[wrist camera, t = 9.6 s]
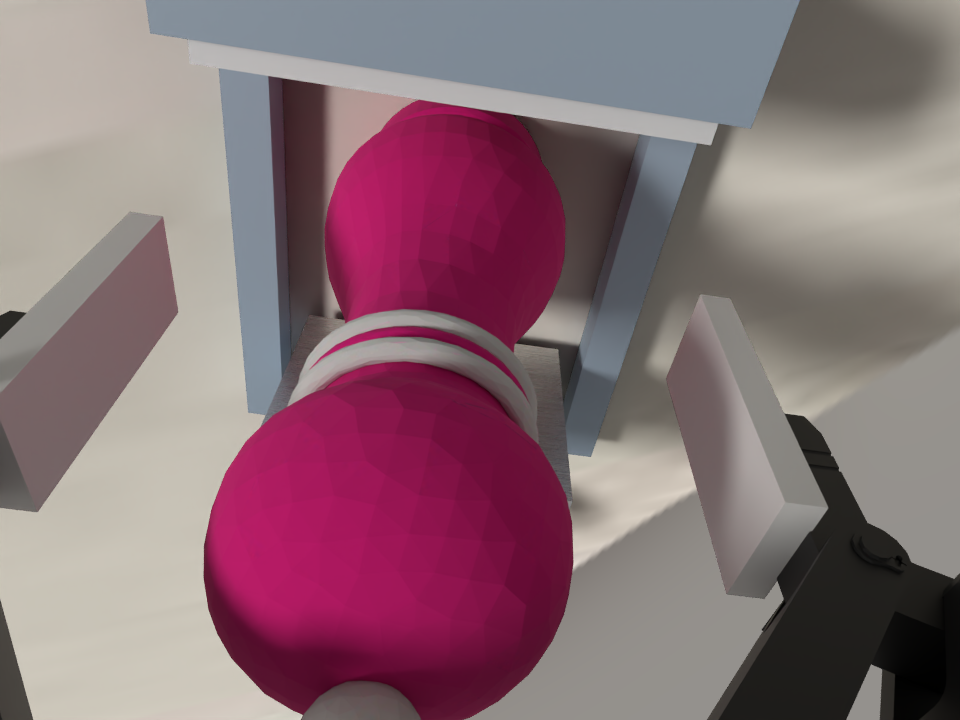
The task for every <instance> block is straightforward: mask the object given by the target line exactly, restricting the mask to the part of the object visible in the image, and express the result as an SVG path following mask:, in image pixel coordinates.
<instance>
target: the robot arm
mask: <svg viewBox="0 0 960 720" xmlns="http://www.w3.org/2000/svg"><path fill="white" fill-rule="evenodd" d="M177 313H178V307H177V301H176V295H175V289H174V282H173V276H172V270H171V264H170V258H169V251H168V245H167V239H166V233H165V226H164V220H163V217H162V216H155V215H148V214H142V213H135V212H129V213H128V214H127V215H126V216H125V217H124V218H123V219H122V220H121V221H120V222H119V223H118V224H117V225H116V226H115V227H114V228H113V229H112V230H111V231H110V232H109V233H108V234H107V235H106V236H105V237H104V238H103V239H102V240H101V241H100V242H99V243H98V244H97V245H96V246H95V247H94V248H93V249H92V250H91V251H90V252H89V253H88V254H87V255H86V256H84V257H83V258H82V259H81V260H80V261H79V262H78V263H77V264H76V265H75V266H74V267H73V268H72V269H71V270H70V271H69V272H68V273H67V274H66V275H65V276H64V277H63V278H62V279H61V280H60V281H59V282H58V283H57V284H56V285H55V286H54V287H53V288H52V289H51V290H50V291H49V292H48V293H47V294H46V295H45V296H44V297H43V298H42V299H41V300H40V301H39V302H38V303H37V304H36V305H34V306H33V307H32V308H31V309H30V310H29V311H28V312H27V313H24V312H16V311H9V312H7V313H5V314H3V315H1V316H0V508H6V509H15V510H23V511H32V512H38V511H39V509H40V508H41V507H42V505H43V504H44V502H45V501H46V499H47V498H48V497H49V495H50V494H51V492H52V491H53V489H54V488H55V487H56V485H57V484H58V482H59V481H60V480H61V478H62V477H63V475H64V474H65V472H66V471H67V470H68V468H69V467H70V465H71V464H72V462H73V461H74V460H75V458H76V457H77V455H78V454H79V453H80V451H81V450H82V448H83V447H84V445H85V444H86V443H87V441H88V440H89V438H90V437H91V435H92V434H93V433H94V431H95V430H96V428H97V427H98V426H99V424H100V423H101V421H102V420H103V418H104V417H105V416H106V414H107V413H108V411H109V410H110V408H111V407H112V406H113V404H114V403H115V401H116V400H117V399H118V397H119V396H120V394H121V393H122V391H123V390H124V389H125V387H126V386H127V384H128V383H129V382H130V380H131V379H132V377H133V376H134V374H135V373H136V372H137V370H138V369H139V367H140V366H141V364H142V363H143V362H144V360H145V359H146V357H147V356H148V355H149V353H150V352H151V350H152V349H153V347H154V346H155V345H156V343H157V342H158V340H159V339H160V337H161V336H162V335H163V333H164V332H165V330H166V329H167V328H168V326H169V325H170V323H171V322H172V320H173V319H174V318H175V316H176V315H177ZM666 380H667V384H668V388H669V391H670V395H671V398H672V402H673V405H674V409H675V412H676V416H677V420H678V423H679V427H680V430H681V434H682V437H683V441H684V444H685V448H686V452H687V455H688V459H689V462H690V466H691V469H692V473H693V476H694V480H695V484H696V487H697V491H698V494H699V498H700V501H701V505H702V508H703V512H704V516H705V519H706V523H707V526H708V530H709V533H710V537H711V540H712V544H713V547H714V551H715V555H716V558H717V562H718V565H719V569H720V572H721V576H722V580H723V583H724V586H725V590H726V594H728V595H738V596H745V597H755V598H762V599H764V598H765V597H766V596H767V595H768V593H769V592H770V590H771V589H772V587H773V586H774V585H775V583H776V582H777V581H778V584H779V586H780V589H781V592H782V595H783V597H784V600H783V601H782V603H781V604H780V606H779V607H778V608H777V610H776V611H775V612H774V614H773V615H772V616H771V618H770V619H769V621H768V622H767V623H766V625H765V626H764V627H763V629H762V631H763V632H762V634H761V635H760V637H759V638H758V640H757V641H756V643H755V645H754V646H753V648H752V649H751V651H750V653H749V654H748V656H747V657H746V659H745V660H744V662H743V664H742V665H741V667H740V668H739V670H738V671H737V673H736V675H735V676H734V678H733V679H732V681H731V683H730V684H729V686H728V687H727V689H726V690H725V692H724V694H723V695H722V697H721V698H720V700H719V702H718V703H717V705H716V706H715V708H714V709H713V711H712V713H711V715H710V716H709V717H708V719H707V720H846V719H847V716H848V714H849V712H850V710H851V708H852V705H853V703H854V701H855V699H856V697H857V694H858V692H859V690H860V688H861V685H862V683H863V681H864V679H865V677H866V674H867V672H868V670H869V667H870V665H871V664H872V665H874V666H877V667H879V668H881V669H882V687H881V688H882V689H881V708H880V720H960V574H959V575H958V576H957V577H956V578H955V579H953V578H950V577H947V576H945V575H942V574H940V573H937V572H934V571H932V570H929V569H927V568H924V567H921V566H919V565H916V564H914V563H912V562H911V561H910V559H909V556H908V554H907V552H906V551H905V550H904V549H903V547H902V546H901V545H900V544H899V543H898V542H897V540H895V539H894V538H893V537H891V536H890V535H889V534H887V533H886V532H885V531H883V530H881V529H879V528H877V527H875V526H873V525H871V524H868V523H867V521H866V519H865V517H864V515H863V514H862V511H861V510H860V508H859V506H858V504H857V502H856V500H855V498H854V496H853V494H852V492H851V490H850V488H849V486H848V484H847V482H846V480H845V479H844V477H843V475H842V473H841V472H839V467H838V465H837V463H836V461H835V459H834V457H833V456H831V451H830V449H829V448H828V446H827V444H826V442H825V440H824V438H823V436H822V434H821V433H820V432H819V431H818V430H817V429H816V428H815V427H814V426H813V425H812V424H811V423H810V422H809V421H808V420H807V419H806V418H805V417H804V416H798V415H791V414H784V412H783V410H782V408H781V406H780V403H779V401H778V399H777V397H776V395H775V393H774V391H773V388H772V386H771V384H770V382H769V380H768V378H767V376H766V374H765V371H764V369H763V367H762V365H761V363H760V361H759V359H758V356H757V354H756V352H755V350H754V348H753V346H752V344H751V342H750V339H749V337H748V335H747V333H746V331H745V329H744V327H743V324H742V322H741V320H740V318H739V316H738V314H737V312H736V310H735V307H734V305H733V303H732V301H731V299H730V298H724V297H717V296H710V295H703V294H700V296H699V299H698V301H697V304H696V306H695V308H694V311H693V313H692V316H691V318H690V321H689V323H688V326H687V328H686V331H685V333H684V336H683V338H682V341H681V343H680V346H679V348H678V351H677V353H676V355H675V358H674V360H673V363H672V365H671V368H670V370H669V373H668V375H667V378H666ZM0 720H33V717H32V714H31V710H30V706H29V703H28V699H27V696H26V692H25V688H24V685H23V681H22V677H21V674H20V670H19V666H18V663H17V659H16V655H15V652H14V648H13V645H12V641H11V637H10V634H9V630H8V626H7V623H6V619H5V615H4V612H3V608H2V604H1V601H0Z"/></svg>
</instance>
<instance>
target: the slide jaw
mask: <svg viewBox="0 0 960 720" xmlns="http://www.w3.org/2000/svg"><path fill="white" fill-rule="evenodd" d="M344 324H345V320H341V319H334V318H327V317H319V316H312V315H309V317H308V320H307V322H306V324H305V327H304V329H303V331H302V333H301V336H300V338H299V340H298V343H297V345H296V347H295V349H294V352H293V354H292V356H291V359H290V361H289V363H288V365H287V368H286V370H285V372H284V375H283V377H282V379H281V381H280V384H279V386H278V388H277V391H276V393H275V395H274V397H273V400H272V402H271V404H270V407H269V409H268V411H267V413H266V416H265V418H264V420H263V423H262V425H263V424H264V423H265V422H266V421H268V420H269V419H270V418H271V417H272V416H273V415H274V414H276V413H278V412H279V411H281V410H283V409H284V408H286V407H287V405H288V402H289V400H290V397H291V395H292V392H293V391H294V389H295V388H296V386H297V384H298V381H299V376H300V373H301V371H302V369H303V366H304V364H305V362H306V360H307V358H308V356H309V355H310V354H311V352H312V351H313V350H314V349H315V347H316V346H317V345H318V344H319V343H320V342H321V341H322V340H323V338H325V337H326V336H327V335H329V334H330V333H331V332H332V331H334V330H335V329H337V328H339V327H341V326H342V325H344ZM514 354H515V356H516V357H517V358H518V359H519V360H520V362H521V363H522V365H523V366H524V368H525V369H526V371H527V373H528V374H529V377H530V379H531V382H532V384H533V386H534V390H535V394H536V399H537V421H536V425H537V429H538V438H539V446H540V448H541V449H542V451H543V453H544V454H545V456H546V458H547V459H548V461H549V463H550V464H551V466H552V468H553V470H554V471H555V473H556V475H557V477H558V479H559V481H560V483H561V485H562V487H563V490H564V492H565V494H566V497H567V502H568V506H569V510H570V507H571V504H572V491H571V481H570V470H569V459H568V449H567V438H566V428H565V417H564V406H563V396H562V385H561V375H560V364H559V354H558V349H551V348H544V347H537V346H529V345H522V344H515V346H514ZM262 425H261V426H262Z"/></svg>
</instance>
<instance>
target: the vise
mask: <svg viewBox="0 0 960 720" xmlns="http://www.w3.org/2000/svg"><path fill="white" fill-rule="evenodd" d="M799 1H800V0H146V6H147V13H148V20H149V28H150V33H152V34H158V35H164V36H171V37H177V38H183V39H187V42H188V51H189V60H190V64H196V65H202V66H208V67H215V68H219V77H220V89H221V101H222V112H223V124H224V136H225V147H226V159H227V170H228V182H229V194H230V205H231V217H232V229H233V240H234V252H235V263H236V275H237V287H238V298H239V310H240V322H241V333H242V345H243V357H244V368H245V380H246V391H247V403H248V413H255V414H263V415H266V413H267V411H268V409H269V407H270V404H271V402H272V400H273V397H274V395H275V393H276V391H277V388H278V386H279V384H280V381H281V379H282V377H283V375H284V372H285V370H286V368H287V365H288V363H289V361H290V359H291V335H290V304H289V274H288V243H287V213H286V182H285V152H284V121H283V90H282V78H285V79H291V80H298V81H304V82H310V83H317V84H323V85H329V86H336V87H342V88H348V89H355V90H361V91H368V92H374V93H380V94H387V95H393V96H399V97H406V98H412V99H419V100H425V101H431V102H438V103H444V104H450V105H457V106H463V107H470V108H476V109H482V110H489V111H495V112H501V113H508V114H514V115H521V116H527V117H533V118H540V119H546V120H552V121H559V122H565V123H572V124H578V125H584V126H591V127H597V128H603V129H610V130H616V131H623V132H629V133H635V134H640V136H639V139H638V143H637V146H636V150H635V153H634V157H633V160H632V164H631V167H630V171H629V174H628V178H627V181H626V185H625V188H624V192H623V195H622V199H621V202H620V206H619V209H618V213H617V216H616V220H615V223H614V227H613V230H612V234H611V237H610V241H609V244H608V248H607V251H606V255H605V258H604V262H603V265H602V269H601V272H600V276H599V279H598V283H597V286H596V290H595V293H594V297H593V300H592V304H591V307H590V311H589V314H588V318H587V321H586V325H585V328H584V332H583V335H582V339H581V342H580V346H579V349H578V353H577V356H576V360H575V363H574V367H573V371H572V374H571V378H570V381H569V385H568V388H567V392H566V395H565V399H564V402H563V406H564V417H565V428H566V438H567V449H568V454H572V455H580V456H588V457H591V455H592V452H593V449H594V446H595V443H596V440H597V437H598V435H599V432H600V429H601V426H602V423H603V420H604V417H605V414H606V411H607V408H608V405H609V402H610V399H611V396H612V393H613V390H614V387H615V384H616V381H617V378H618V376H619V373H620V370H621V367H622V364H623V361H624V358H625V355H626V352H627V349H628V346H629V343H630V340H631V337H632V334H633V331H634V328H635V325H636V322H637V320H638V317H639V314H640V311H641V308H642V305H643V302H644V299H645V296H646V293H647V290H648V287H649V284H650V281H651V278H652V275H653V272H654V269H655V266H656V264H657V261H658V258H659V255H660V252H661V249H662V246H663V243H664V240H665V237H666V234H667V231H668V228H669V225H670V222H671V219H672V216H673V213H674V210H675V208H676V205H677V202H678V199H679V196H680V193H681V190H682V187H683V184H684V181H685V178H686V175H687V172H688V169H689V166H690V163H691V160H692V157H693V154H694V152H695V149H696V146H697V143H699V144H705V145H711V144H712V141H713V138H714V135H715V132H716V130H717V127H718V124H725V125H731V126H737V127H743V128H750V129H751V127H752V124H753V122H754V119H755V116H756V114H757V111H758V109H759V106H760V103H761V101H762V98H763V96H764V93H765V90H766V88H767V85H768V82H769V80H770V77H771V75H772V72H773V69H774V67H775V64H776V62H777V59H778V56H779V54H780V51H781V48H782V46H783V43H784V41H785V38H786V35H787V33H788V30H789V28H790V25H791V22H792V20H793V17H794V14H795V12H796V9H797V7H798V4H799Z"/></svg>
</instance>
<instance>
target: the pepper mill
mask: <svg viewBox="0 0 960 720" xmlns="http://www.w3.org/2000/svg"><path fill="white" fill-rule="evenodd" d="M325 252H326V262H327V268H328V274H329V279H330V282H331V285H332V288H333V290H334V293H335V296H336V298H337V301H338V304H339V306H340V309H341V311H342V314H343V317H344V319H345V324H344V325H342V326H341V327H339V328H337V329H335V330H334V331H332V332H331V333H330V334H329V335H327V336H326V337H325V338H323V340H322V341H321V342H320V343H319V344H318V345H317V346H316V347H315V349H314V350H313V351H312V352H311V354H310V355H309V356H308V358H307V360H306V362H305V364H304V366H303V369H302V371H301V373H300V376H299V381H298V384H297V386H296V388H295V389H294V391H293V392H292V395H291V397H290V400H289V402H288V405H287V407H286V408H284V409H283V410H281V411H279V412H278V413H276V414H274V415H273V416H272V417H271V418H270V419H269V420H268V421H266V422H265V423H264V424H263V425H262V426H261V427H260V428H259V429H258V430H257V431H256V432H255V433H254V434H253V435H252V436H251V437H250V438H249V439H248V440H247V441H246V442H245V444H244V445H243V447H242V448H241V450H240V451H239V453H238V455H237V456H236V458H235V459H234V461H233V462H232V464H231V465H230V467H229V468H228V470H227V471H226V473H225V476H224V478H223V481H222V484H221V486H220V489H219V491H218V494H217V496H216V499H215V501H214V504H213V507H212V510H211V514H210V519H209V524H208V529H207V534H206V539H205V543H204V583H205V590H206V596H207V602H208V609H209V612H210V615H211V618H212V620H213V623H214V626H215V629H216V631H217V634H218V636H219V637H220V639H221V641H222V643H223V644H224V646H225V648H226V650H227V651H228V653H229V655H230V657H231V658H232V659H233V660H234V662H235V663H236V664H237V665H238V666H239V667H240V668H241V669H242V670H243V671H244V672H245V673H246V674H247V675H248V676H249V678H250V679H251V680H252V681H253V682H254V683H255V684H256V685H257V686H258V687H259V688H260V689H261V690H262V691H263V692H264V693H265V694H266V695H268V696H270V697H271V698H273V699H275V700H276V701H278V702H280V703H281V704H283V705H285V706H286V707H288V708H290V709H291V710H293V711H295V712H298V713H300V714H302V715H303V717H302V719H301V720H464V719H466V718H470V717H472V716H474V715H475V714H477V713H479V712H480V711H482V710H484V709H486V708H487V707H489V706H491V705H493V704H494V703H496V702H498V701H499V700H500V699H501V698H502V697H504V696H505V695H506V694H507V693H508V692H509V691H510V690H512V689H513V688H514V687H515V686H516V685H517V684H519V683H520V682H521V681H522V680H523V679H524V678H525V677H526V676H528V675H529V673H530V672H531V671H532V670H533V668H534V667H535V666H536V664H537V663H538V662H539V660H540V659H541V657H542V656H543V654H544V653H545V651H546V650H547V648H548V646H549V645H550V644H551V642H552V640H553V638H554V636H555V634H556V631H557V629H558V627H559V625H560V622H561V620H562V618H563V615H564V612H565V608H566V604H567V600H568V596H569V589H570V583H571V576H572V569H573V537H572V520H571V516H570V511H569V506H568V502H567V497H566V494H565V492H564V490H563V487H562V485H561V483H560V481H559V479H558V477H557V475H556V473H555V471H554V470H553V468H552V466H551V464H550V463H549V461H548V459H547V458H546V456H545V454H544V453H543V451H542V449H541V448H540V446H539V438H538V429H537V425H536V421H537V399H536V394H535V390H534V386H533V384H532V382H531V379H530V377H529V374H528V373H527V371H526V369H525V368H524V366H523V365H522V363H521V362H520V360H519V359H518V358H517V357H516V356H515V354H514V346H515V343H516V342H517V341H518V340H519V339H520V338H521V337H522V336H523V335H524V334H525V333H526V332H527V331H528V330H529V329H530V328H531V327H532V325H533V324H534V323H535V322H536V321H537V319H538V318H539V316H540V315H541V314H542V312H543V311H544V309H545V307H546V305H547V303H548V301H549V299H550V297H551V296H552V294H553V291H554V289H555V287H556V284H557V282H558V280H559V277H560V275H561V271H562V266H563V262H564V254H565V215H564V210H563V206H562V201H561V197H560V195H559V192H558V190H557V188H556V186H555V183H554V181H553V179H552V177H551V175H550V173H549V172H548V170H547V169H546V167H545V166H544V165H543V163H542V160H541V157H540V154H539V151H538V148H537V147H536V145H535V143H534V141H533V139H532V137H531V135H530V134H529V133H528V131H527V130H526V129H525V127H524V126H523V125H522V124H521V123H520V122H519V121H518V120H517V119H516V118H515V117H514V116H513V115H512V114H508V113H501V112H495V111H489V110H482V109H476V108H470V107H463V106H457V105H450V104H444V103H438V102H431V101H425V100H418V101H416V102H413V103H411V104H410V105H408V106H406V107H405V108H403V109H401V110H400V111H399V112H398V113H397V114H395V115H394V116H393V117H392V118H391V119H390V120H389V121H388V122H387V123H386V125H385V126H384V128H383V129H382V130H381V132H379V133H377V134H376V135H374V136H373V137H372V138H371V139H370V140H368V141H367V142H366V143H365V144H364V145H362V146H361V147H360V148H359V149H358V150H357V151H356V153H355V154H354V155H353V156H352V157H351V158H350V160H349V161H348V162H347V163H346V165H345V167H344V169H343V171H342V172H341V174H340V176H339V178H338V180H337V183H336V186H335V188H334V191H333V194H332V197H331V201H330V204H329V207H328V212H327V218H326V223H325Z"/></svg>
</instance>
